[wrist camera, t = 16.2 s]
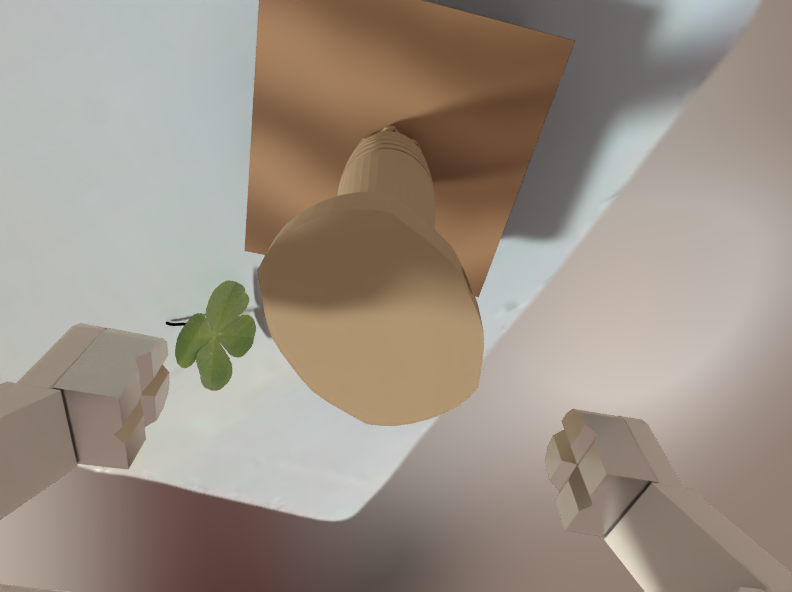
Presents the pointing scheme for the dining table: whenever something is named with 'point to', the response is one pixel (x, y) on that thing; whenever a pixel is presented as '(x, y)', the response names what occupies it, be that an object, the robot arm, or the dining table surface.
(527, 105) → the stand
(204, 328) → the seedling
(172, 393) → the dining table surface
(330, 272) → the handle
